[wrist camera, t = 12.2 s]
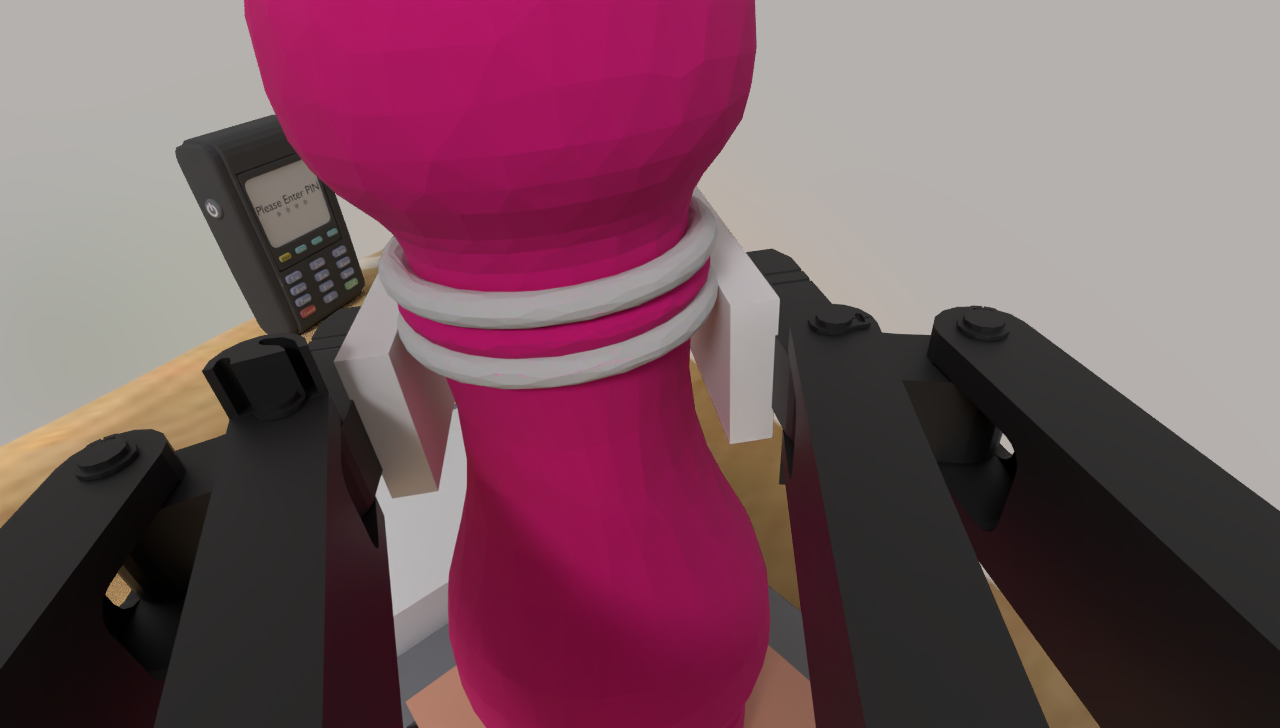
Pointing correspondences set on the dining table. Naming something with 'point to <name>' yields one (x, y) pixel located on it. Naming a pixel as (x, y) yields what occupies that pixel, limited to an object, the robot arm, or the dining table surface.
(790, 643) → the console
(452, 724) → the key terracotta
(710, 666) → the pepper mill
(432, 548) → the key grey
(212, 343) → the dining table surface
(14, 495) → the dining table surface
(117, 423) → the dining table surface
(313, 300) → the card reader
